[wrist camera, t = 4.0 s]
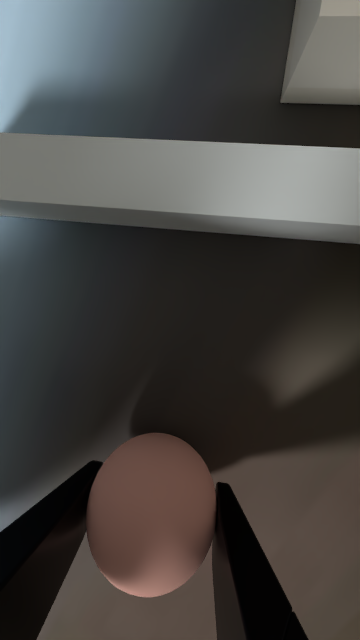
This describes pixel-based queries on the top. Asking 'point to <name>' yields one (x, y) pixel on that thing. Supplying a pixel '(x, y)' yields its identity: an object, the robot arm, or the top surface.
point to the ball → (151, 514)
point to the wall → (184, 185)
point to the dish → (324, 53)
